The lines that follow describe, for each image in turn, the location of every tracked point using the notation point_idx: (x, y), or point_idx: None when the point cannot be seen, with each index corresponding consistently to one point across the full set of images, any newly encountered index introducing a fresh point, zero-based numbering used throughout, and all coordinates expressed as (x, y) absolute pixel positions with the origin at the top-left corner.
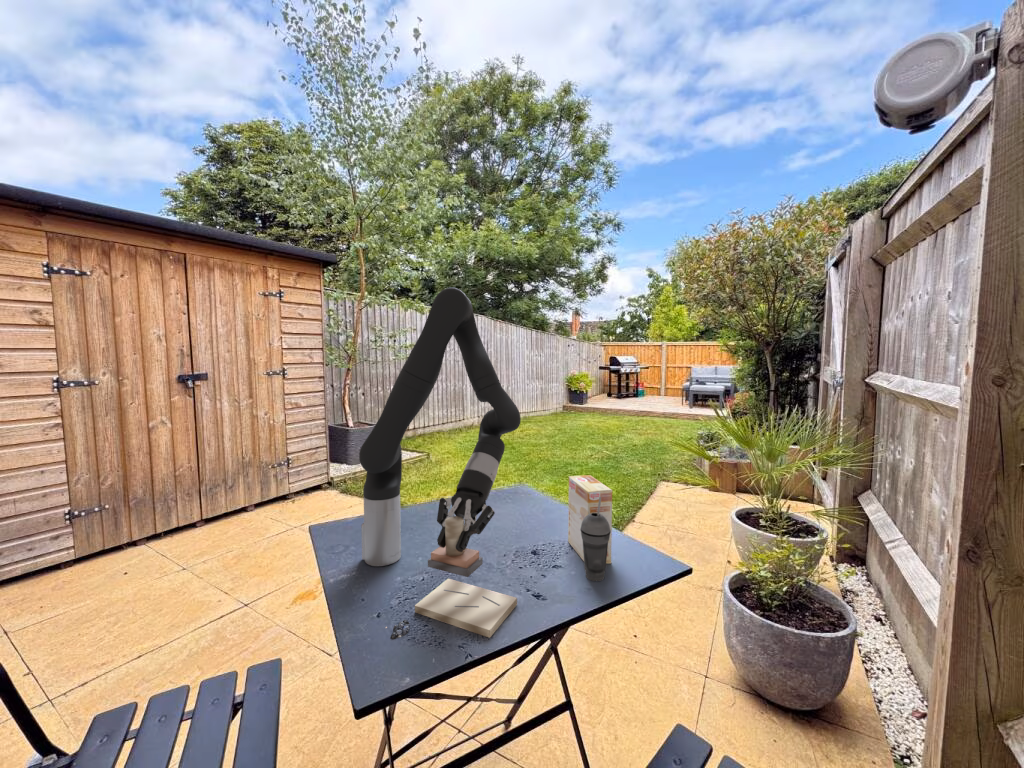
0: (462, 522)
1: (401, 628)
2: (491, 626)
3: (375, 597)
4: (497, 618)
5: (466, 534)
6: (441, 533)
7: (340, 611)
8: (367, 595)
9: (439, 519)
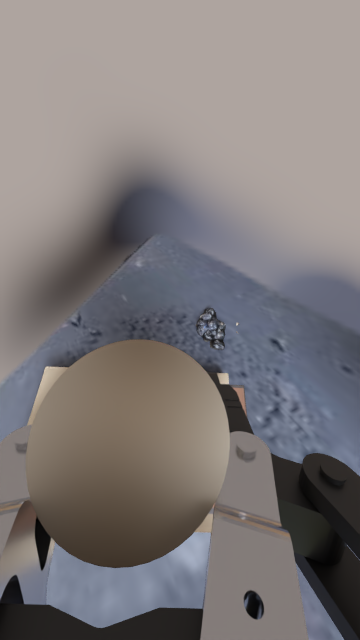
0: (37, 429)
1: (208, 322)
2: (45, 378)
3: (334, 386)
4: (36, 407)
5: None
6: (233, 412)
7: (340, 326)
8: (354, 385)
9: (329, 470)
